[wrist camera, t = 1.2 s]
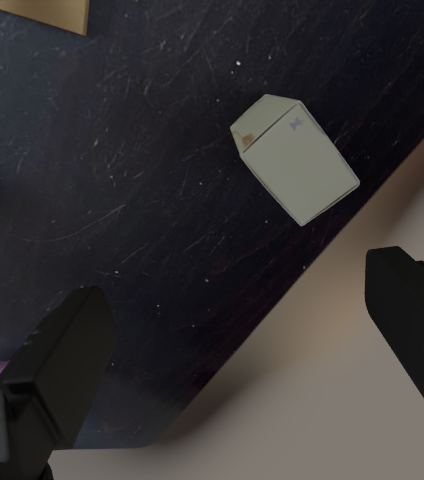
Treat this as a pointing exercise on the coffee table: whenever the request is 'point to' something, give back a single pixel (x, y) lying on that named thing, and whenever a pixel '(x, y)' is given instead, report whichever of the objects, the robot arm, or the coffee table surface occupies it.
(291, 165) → the cosmetic box
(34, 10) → the word board
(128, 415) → the coffee table surface
